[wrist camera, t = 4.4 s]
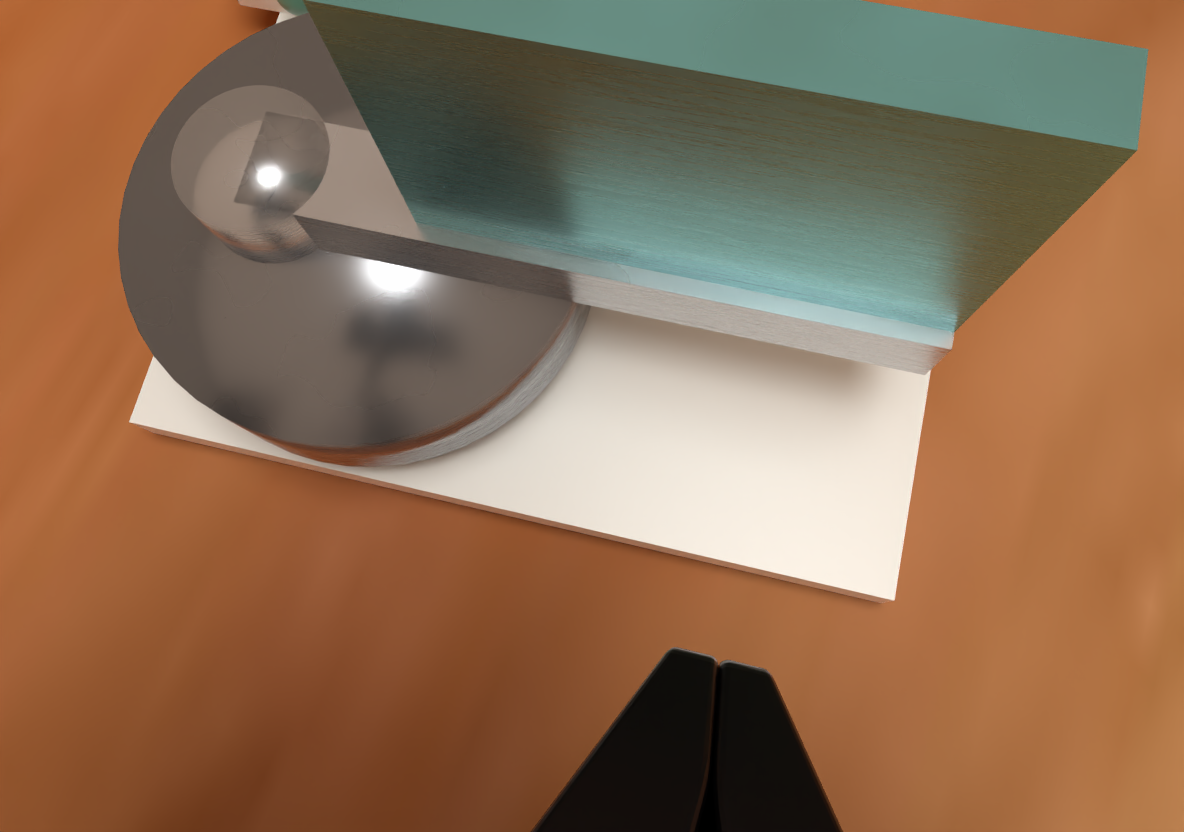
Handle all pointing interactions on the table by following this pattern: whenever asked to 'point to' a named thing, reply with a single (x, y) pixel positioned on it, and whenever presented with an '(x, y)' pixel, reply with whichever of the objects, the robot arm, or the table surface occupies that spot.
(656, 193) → the cam foot
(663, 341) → the plate
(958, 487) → the table surface
